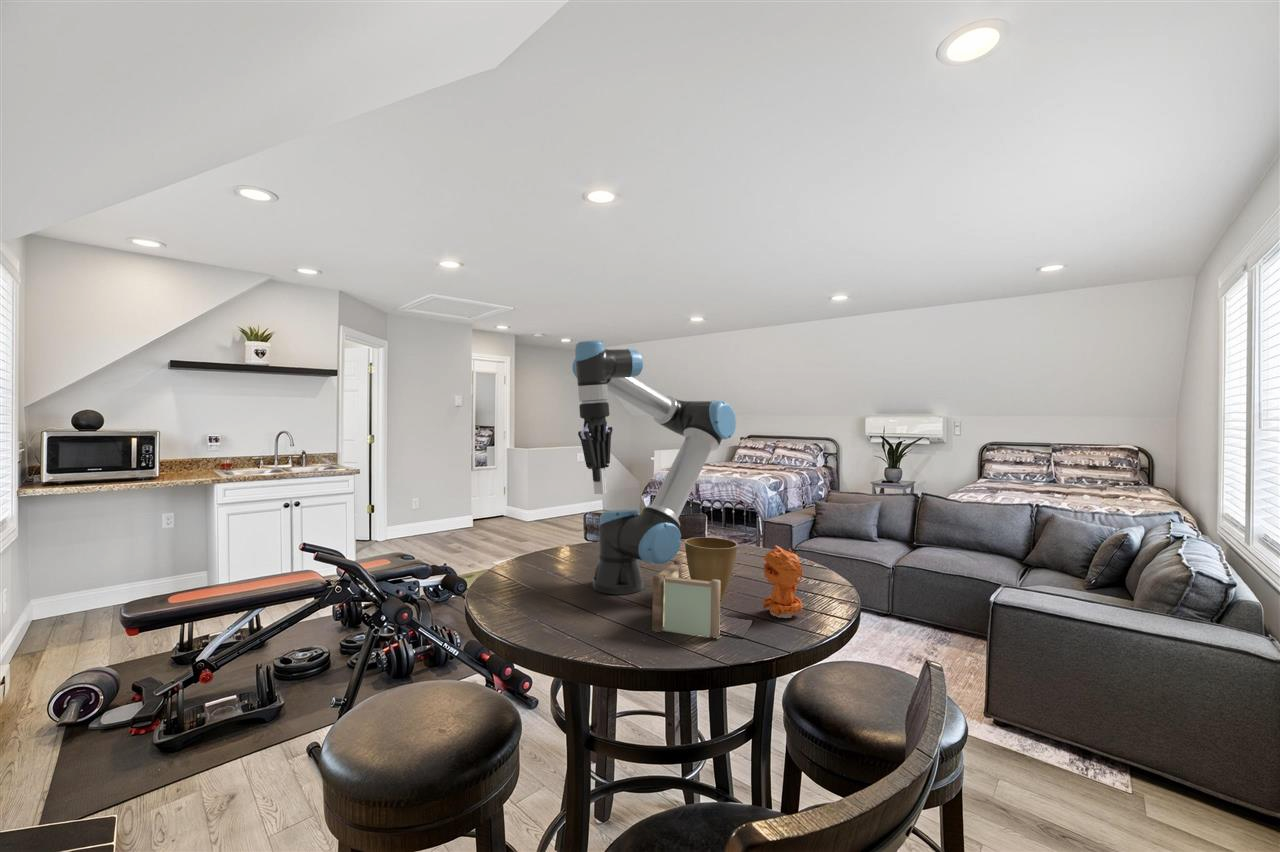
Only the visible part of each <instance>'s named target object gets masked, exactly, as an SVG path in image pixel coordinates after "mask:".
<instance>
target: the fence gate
mask: <svg viewBox="0 0 1280 852" xmlns="http://www.w3.org/2000/svg"><path fill="white" fill-rule="evenodd" d="M720 589H721V581H720V580H717V579H713V580H711V582H710V581H701V580H692V579H691V578H683V577H682V578H674V577H666V578H665V611H664V628H663V631H665V632H671V633H672V632H674V633H679V634H687V635H694V636H700V635H701V636H702V637H706V636H711V637H719V636H720V637H721V635H720V615H721V601H720ZM711 637H710V638H711ZM720 637H719V638H720Z"/></svg>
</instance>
